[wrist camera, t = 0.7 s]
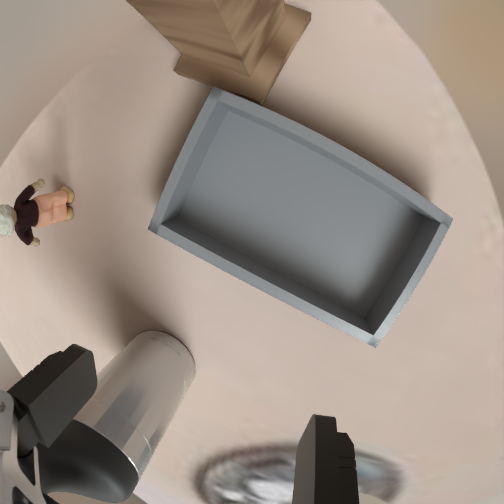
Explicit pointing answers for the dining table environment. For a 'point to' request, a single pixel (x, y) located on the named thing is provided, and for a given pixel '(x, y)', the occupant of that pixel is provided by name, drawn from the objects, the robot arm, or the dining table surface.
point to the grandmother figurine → (35, 212)
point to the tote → (298, 217)
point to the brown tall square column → (229, 40)
